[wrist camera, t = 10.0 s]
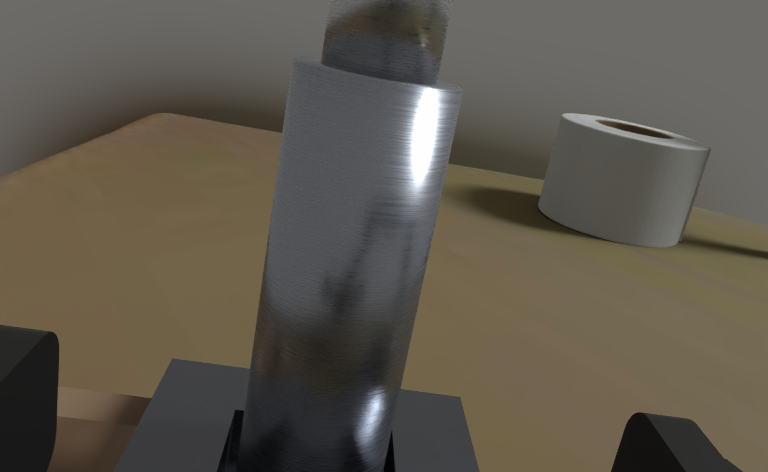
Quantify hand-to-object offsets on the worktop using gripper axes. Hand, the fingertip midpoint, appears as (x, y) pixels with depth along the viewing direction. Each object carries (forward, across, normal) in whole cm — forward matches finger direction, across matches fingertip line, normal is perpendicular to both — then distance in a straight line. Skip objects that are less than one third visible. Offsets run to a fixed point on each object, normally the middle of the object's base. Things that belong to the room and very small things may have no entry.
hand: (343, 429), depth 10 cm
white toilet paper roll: (+65, -30, +13) cm, 73 cm away
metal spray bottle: (+10, 0, +10) cm, 14 cm away
